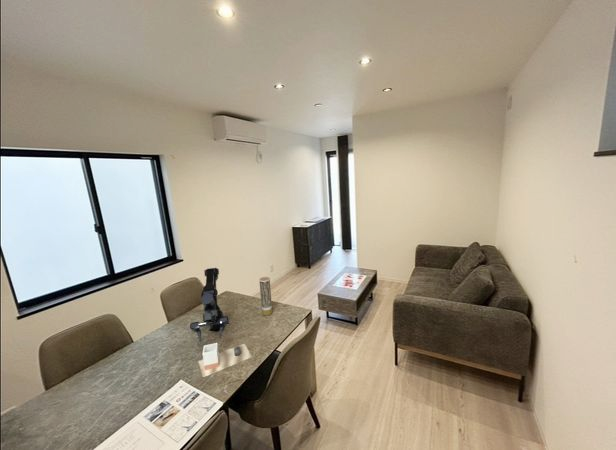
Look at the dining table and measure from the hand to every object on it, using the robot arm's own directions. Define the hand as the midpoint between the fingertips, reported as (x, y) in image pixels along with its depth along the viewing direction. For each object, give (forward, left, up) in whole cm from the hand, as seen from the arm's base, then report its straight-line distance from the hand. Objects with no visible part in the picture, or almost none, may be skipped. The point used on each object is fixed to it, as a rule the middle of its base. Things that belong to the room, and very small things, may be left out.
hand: (210, 340), depth 129 cm
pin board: (+7, +1, -11) cm, 13 cm away
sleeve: (+2, -4, -10) cm, 11 cm away
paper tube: (+10, +48, -11) cm, 50 cm away
